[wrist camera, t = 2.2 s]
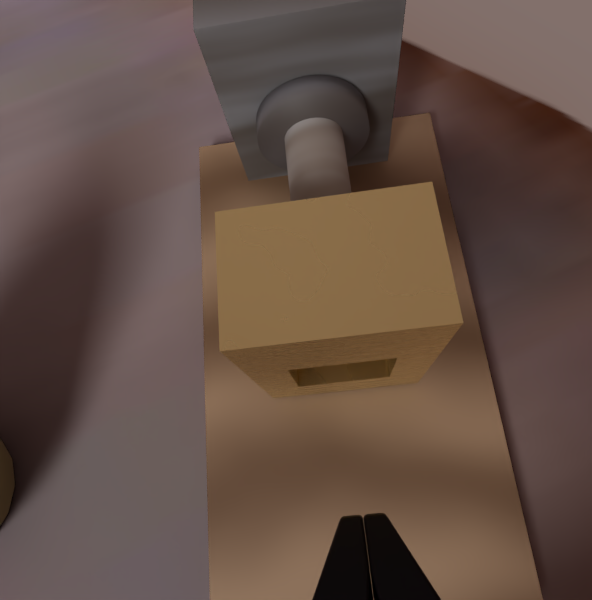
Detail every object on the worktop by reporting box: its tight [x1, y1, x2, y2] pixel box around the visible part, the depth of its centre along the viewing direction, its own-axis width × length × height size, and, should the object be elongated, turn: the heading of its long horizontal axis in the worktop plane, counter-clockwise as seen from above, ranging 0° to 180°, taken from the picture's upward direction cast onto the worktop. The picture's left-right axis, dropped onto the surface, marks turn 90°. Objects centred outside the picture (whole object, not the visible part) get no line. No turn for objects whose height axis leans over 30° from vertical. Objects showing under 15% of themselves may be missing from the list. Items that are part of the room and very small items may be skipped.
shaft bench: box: [193, 0, 543, 600], centre depth 17 cm, size 22×12×10 cm, turn 5°
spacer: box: [215, 182, 463, 398], centre depth 16 cm, size 4×6×9 cm, turn 95°
